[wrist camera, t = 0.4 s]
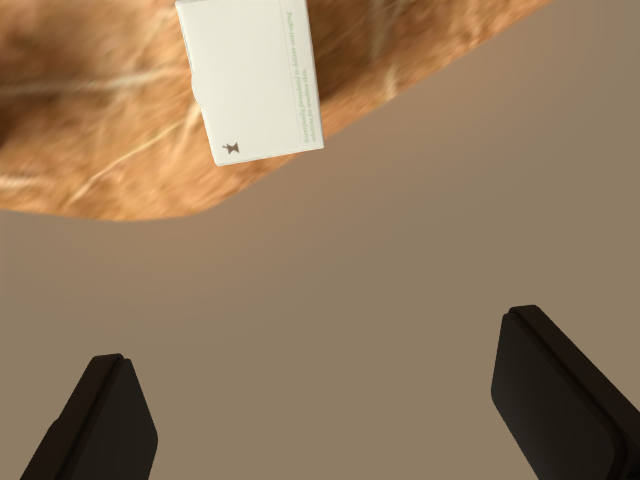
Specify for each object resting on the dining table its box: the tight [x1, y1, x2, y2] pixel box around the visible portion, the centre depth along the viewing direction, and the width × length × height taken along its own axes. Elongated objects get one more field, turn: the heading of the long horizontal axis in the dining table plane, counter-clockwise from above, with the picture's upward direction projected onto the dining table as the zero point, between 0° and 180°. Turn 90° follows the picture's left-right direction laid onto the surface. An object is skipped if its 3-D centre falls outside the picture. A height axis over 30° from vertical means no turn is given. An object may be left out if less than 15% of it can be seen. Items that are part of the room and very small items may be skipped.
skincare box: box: [175, 0, 324, 166], centre depth 28 cm, size 8×7×16 cm
